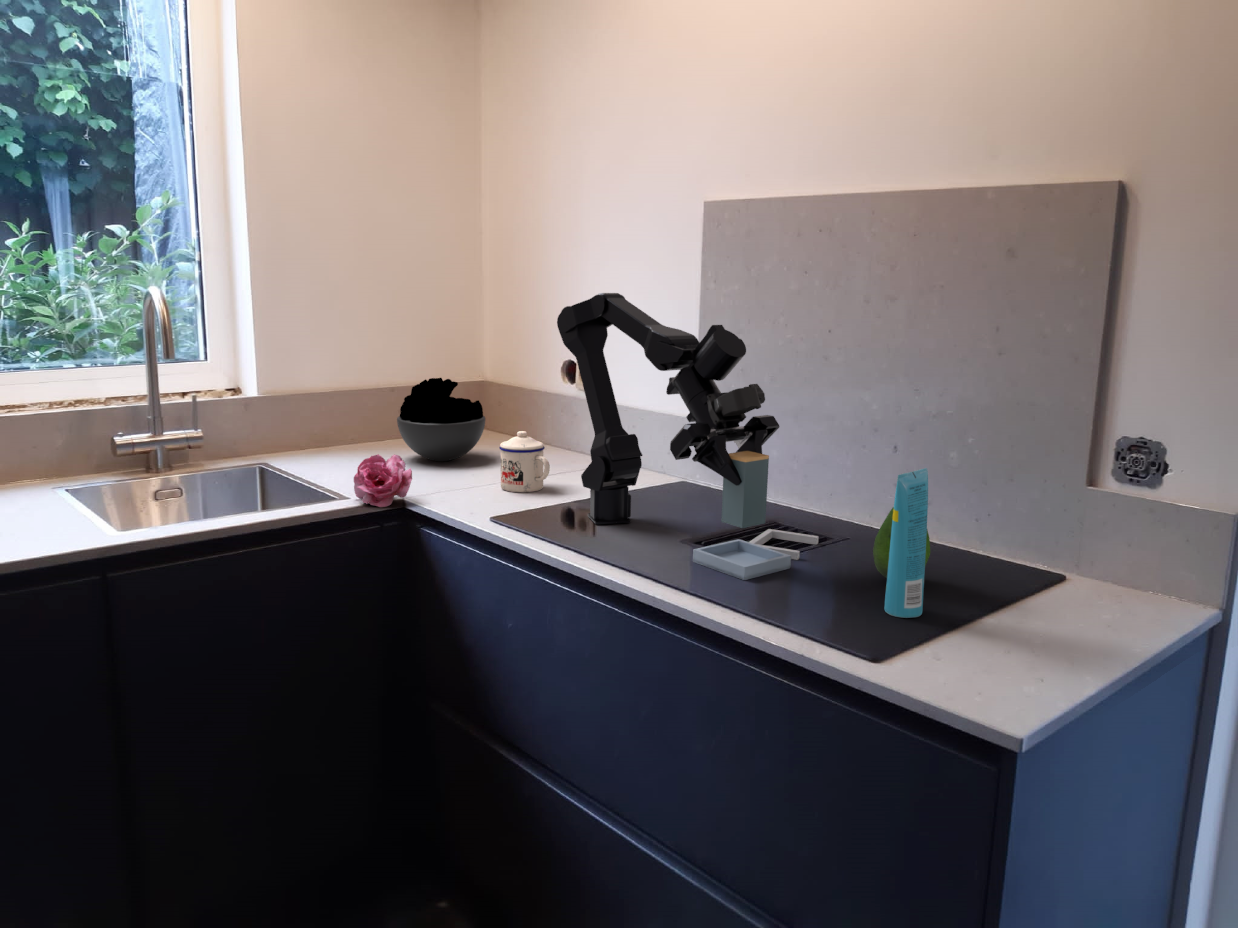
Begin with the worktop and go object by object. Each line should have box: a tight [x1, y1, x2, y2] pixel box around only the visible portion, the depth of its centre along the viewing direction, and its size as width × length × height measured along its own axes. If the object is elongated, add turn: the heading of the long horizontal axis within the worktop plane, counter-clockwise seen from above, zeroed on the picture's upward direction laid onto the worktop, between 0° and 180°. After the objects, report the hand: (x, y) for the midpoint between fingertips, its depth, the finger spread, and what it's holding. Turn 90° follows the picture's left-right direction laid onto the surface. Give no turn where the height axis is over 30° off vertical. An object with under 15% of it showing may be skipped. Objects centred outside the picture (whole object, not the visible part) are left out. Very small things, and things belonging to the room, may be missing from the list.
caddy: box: [720, 451, 770, 529], centre depth 144 cm, size 4×5×10 cm
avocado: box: [872, 506, 931, 579], centre depth 139 cm, size 8×8×12 cm
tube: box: [883, 467, 929, 619], centre depth 125 cm, size 7×5×19 cm, turn 140°
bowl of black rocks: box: [396, 377, 486, 462], centre depth 220 cm, size 20×20×19 cm
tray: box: [692, 538, 792, 581], centre depth 146 cm, size 11×10×2 cm
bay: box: [749, 528, 819, 561], centre depth 156 cm, size 9×11×1 cm
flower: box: [353, 453, 413, 508], centre depth 181 cm, size 11×10×10 cm
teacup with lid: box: [499, 430, 551, 493], centre depth 193 cm, size 12×9×12 cm
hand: (751, 481), depth 143 cm, fingers closed on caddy, 5 cm apart
